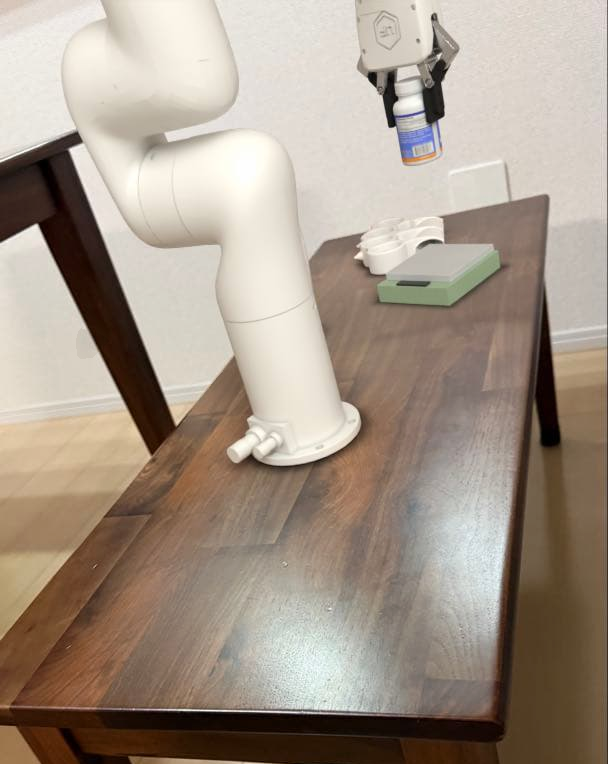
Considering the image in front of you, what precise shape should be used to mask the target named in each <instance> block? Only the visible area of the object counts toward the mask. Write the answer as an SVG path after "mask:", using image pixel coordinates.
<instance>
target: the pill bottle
mask: <svg viewBox="0 0 608 764" xmlns="http://www.w3.org/2000/svg"><path fill="white" fill-rule="evenodd" d="M394 86H395V94H396V96H398V101H397V102H396V103H395V104H394V106H393V113H394V118H395V123H396V127H395V128H396V134H397V141H398V145H399V151H400V156H401V162H402V165H404V166H406V167H417V166H422V165H425V164H429V163H431V162H433V161H436V160H438V159H440V158H441V157H442V156H443V153H444V151H443V145H442V144H443V143H442V137H441V131H440V123H439V120H437V121H436V122H434V123H428V122H427V121H426V114H425V108H424V102H423V96H422V90H423V89H425V88H426V86H425V84H424V81H423V79H422V77H421V74H418V75H413V76H409V77H405V78H403V79H400V80H397V82H396V83H395V84H394Z"/></svg>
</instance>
